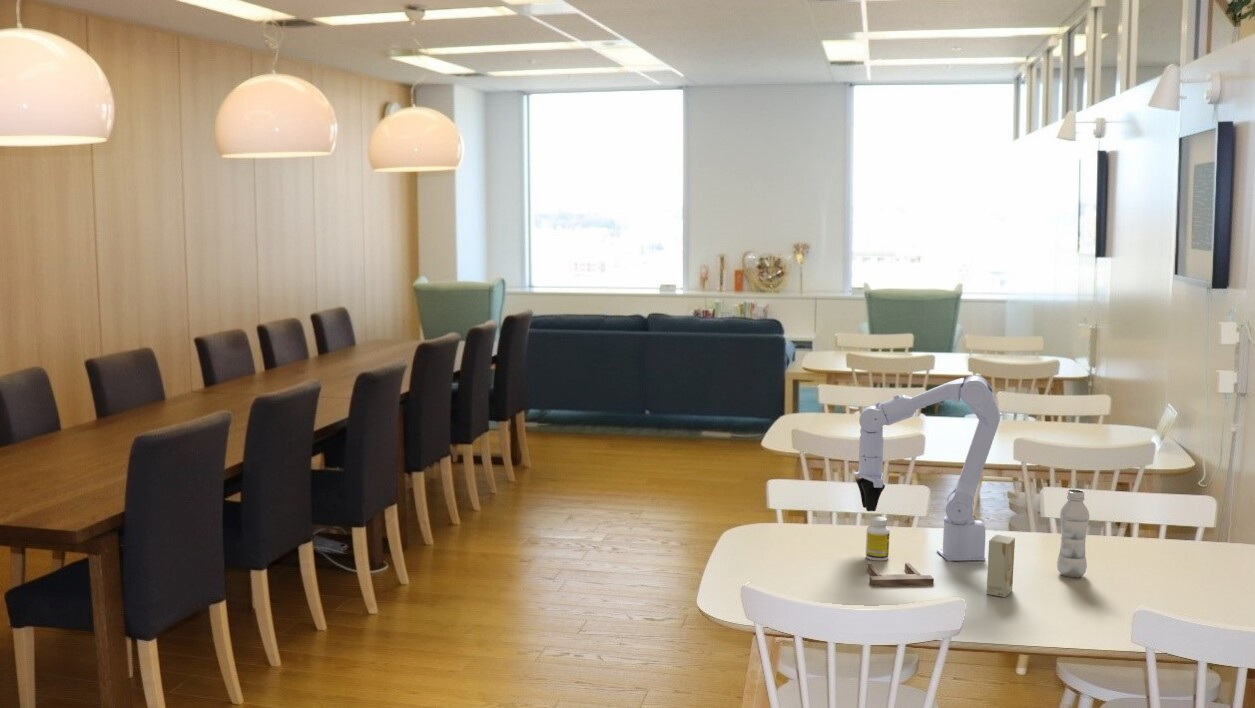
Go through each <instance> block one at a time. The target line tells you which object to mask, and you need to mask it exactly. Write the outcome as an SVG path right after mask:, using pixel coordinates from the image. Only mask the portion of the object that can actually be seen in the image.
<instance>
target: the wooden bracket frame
mask: <svg viewBox="0 0 1255 708" xmlns="http://www.w3.org/2000/svg"><path fill="white" fill-rule="evenodd" d="M866 566H867V567H866V571H867V572H868V573H869V574H870V575H871V576H869V582H868V583H869V584H870V585H871V587H898V586H899V587H902V586H906V587H908V585H909V587H911V586H910V585H912V586H934V580H935V579H934V577H933V576H932V575H931V574H926V575H925V574H921V573H920V572H919V570H917V569H916V568H915V567H914V566H913V565H912V564H911V563H910V562H905V563H904V570H905V571H906V572H907V573H902V574H901V573H897V574H881V572H880V571H878V569H877V568H876V567H875V566H874V565H873V563H867V565H866Z"/></svg>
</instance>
